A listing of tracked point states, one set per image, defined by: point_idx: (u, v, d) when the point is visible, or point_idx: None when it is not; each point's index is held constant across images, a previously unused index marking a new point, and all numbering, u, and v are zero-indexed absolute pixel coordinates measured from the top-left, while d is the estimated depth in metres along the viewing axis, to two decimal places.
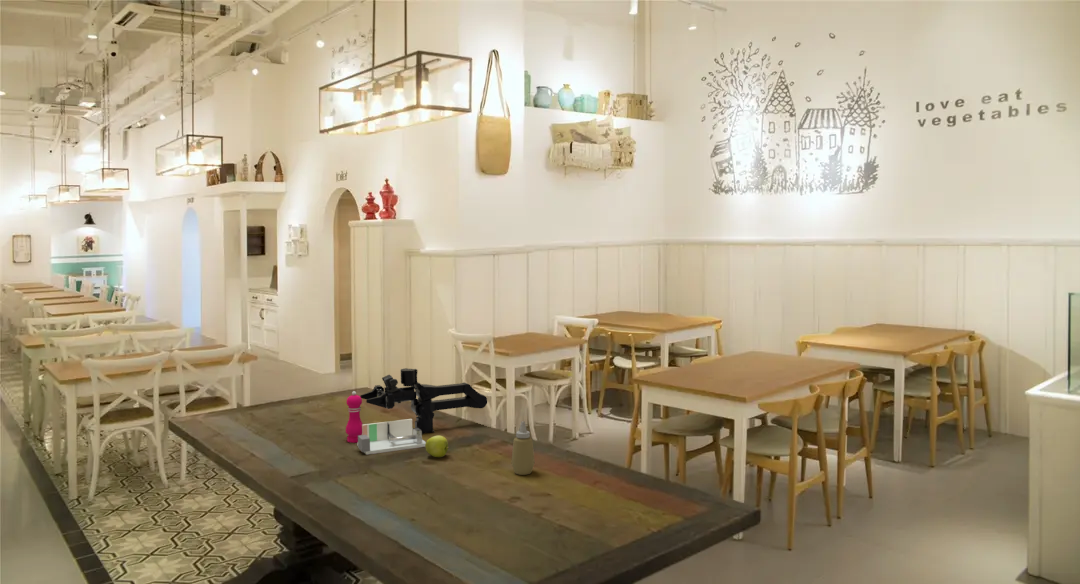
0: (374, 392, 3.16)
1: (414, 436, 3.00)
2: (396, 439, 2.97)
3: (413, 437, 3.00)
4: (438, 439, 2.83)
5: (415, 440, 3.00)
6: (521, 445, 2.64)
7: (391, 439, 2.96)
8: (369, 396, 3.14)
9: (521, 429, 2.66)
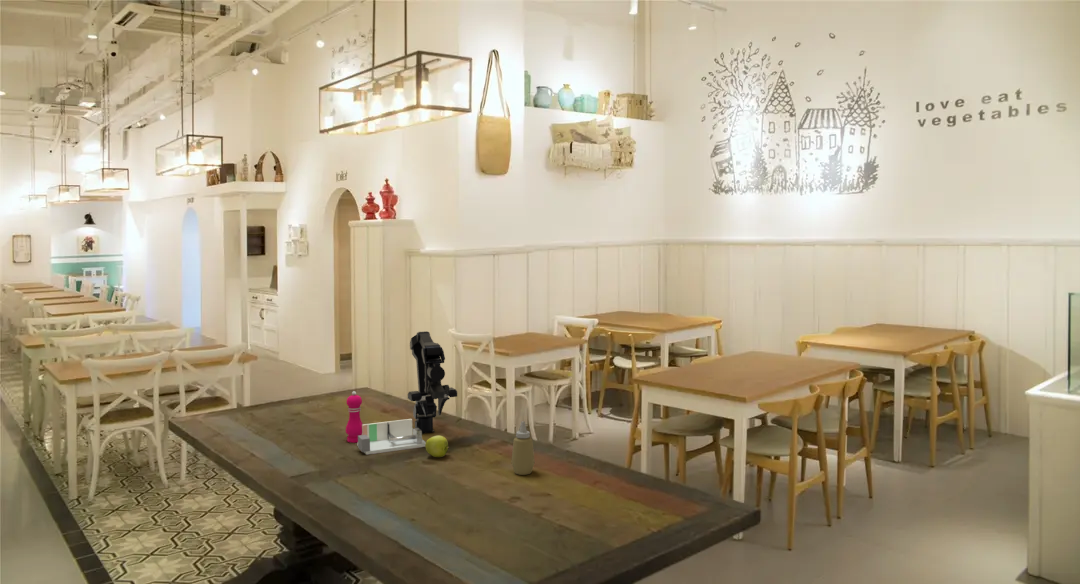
0: None
1: (414, 436, 3.00)
2: (396, 439, 2.97)
3: (413, 437, 3.00)
4: (438, 439, 2.83)
5: (415, 440, 3.00)
6: (521, 445, 2.64)
7: (391, 439, 2.96)
8: None
9: (521, 429, 2.66)
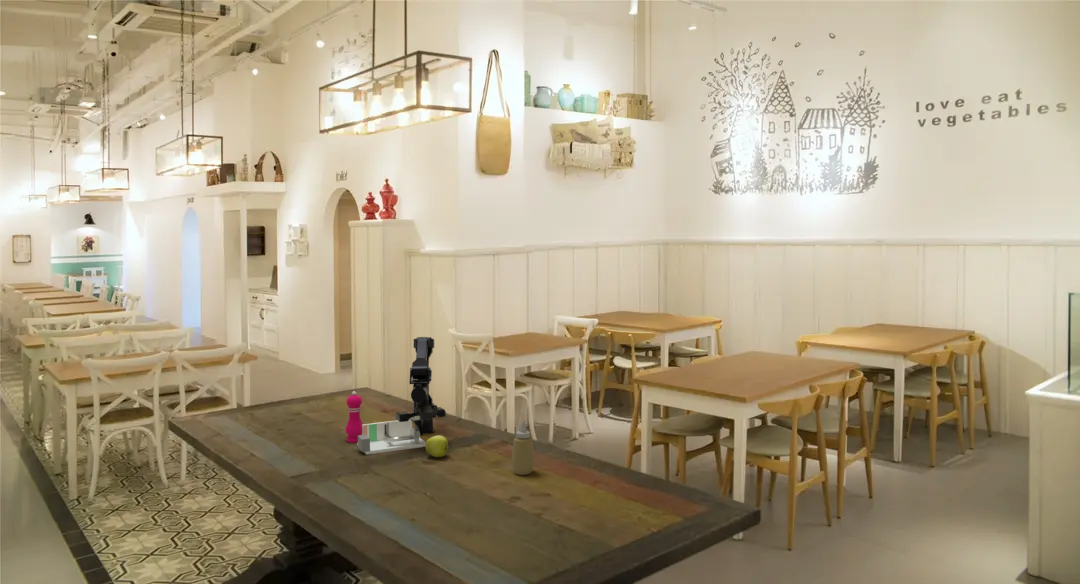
0: None
1: (411, 436, 3.00)
2: (393, 439, 2.96)
3: (410, 437, 2.99)
4: (438, 439, 2.83)
5: (412, 440, 3.00)
6: (521, 445, 2.64)
7: (388, 439, 2.95)
8: None
9: (521, 429, 2.66)
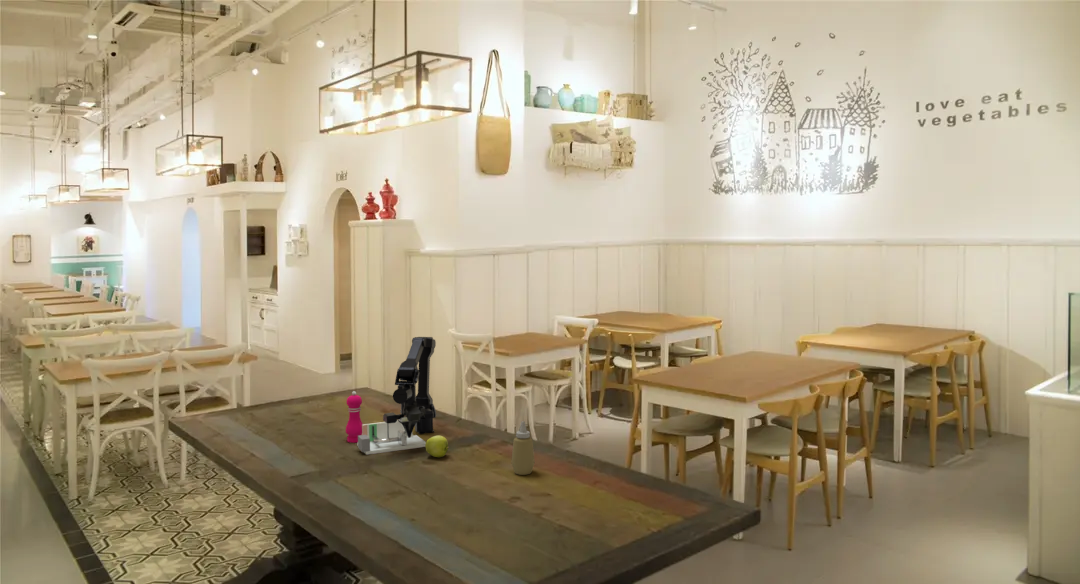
0: None
1: (399, 438, 2.97)
2: (380, 441, 2.94)
3: (398, 439, 2.97)
4: (438, 439, 2.83)
5: (400, 442, 2.98)
6: (521, 445, 2.64)
7: (375, 441, 2.93)
8: None
9: (521, 429, 2.66)
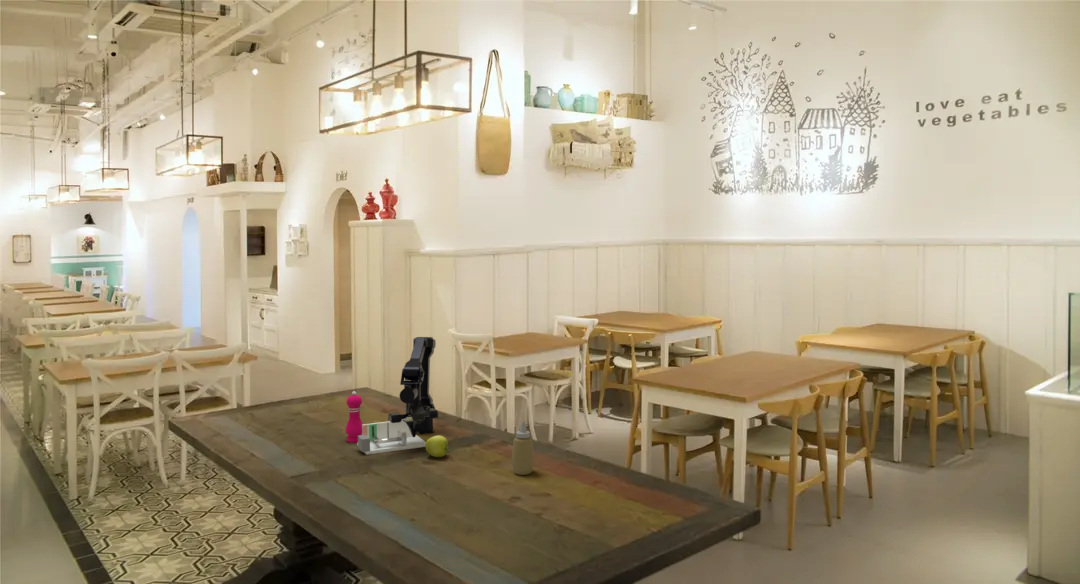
0: None
1: (399, 438, 2.97)
2: (380, 441, 2.94)
3: (398, 439, 2.97)
4: (438, 439, 2.83)
5: (400, 442, 2.98)
6: (521, 445, 2.64)
7: (375, 441, 2.93)
8: None
9: (521, 429, 2.66)
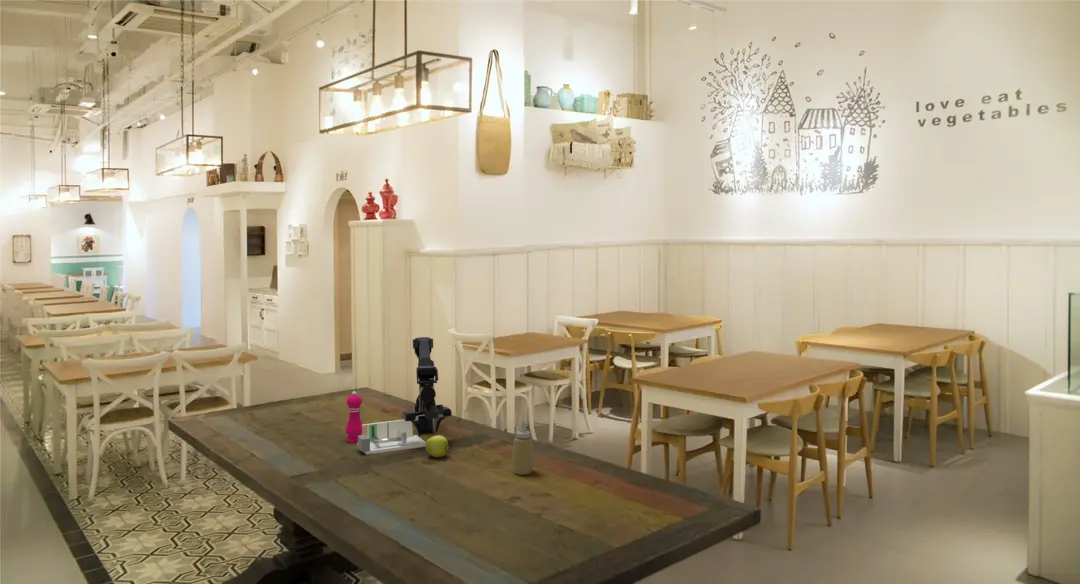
0: None
1: (399, 438, 2.97)
2: (380, 441, 2.94)
3: (398, 439, 2.97)
4: (438, 439, 2.83)
5: (400, 442, 2.98)
6: (521, 445, 2.64)
7: (375, 441, 2.93)
8: None
9: (521, 429, 2.66)
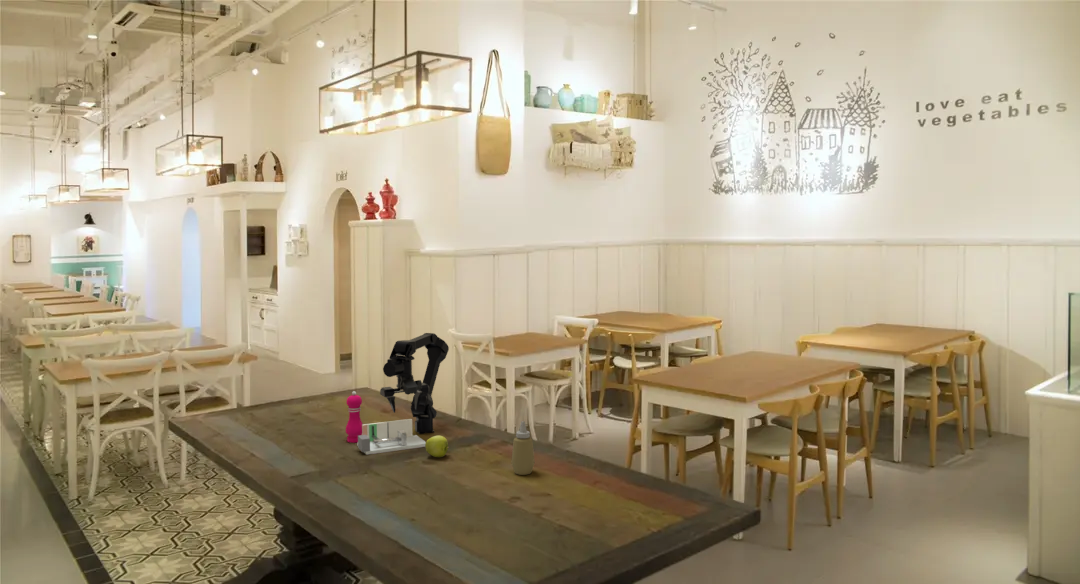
0: None
1: (399, 438, 2.97)
2: (380, 441, 2.94)
3: (398, 439, 2.97)
4: (438, 439, 2.83)
5: (400, 442, 2.98)
6: (521, 445, 2.64)
7: (375, 441, 2.93)
8: None
9: (521, 429, 2.66)
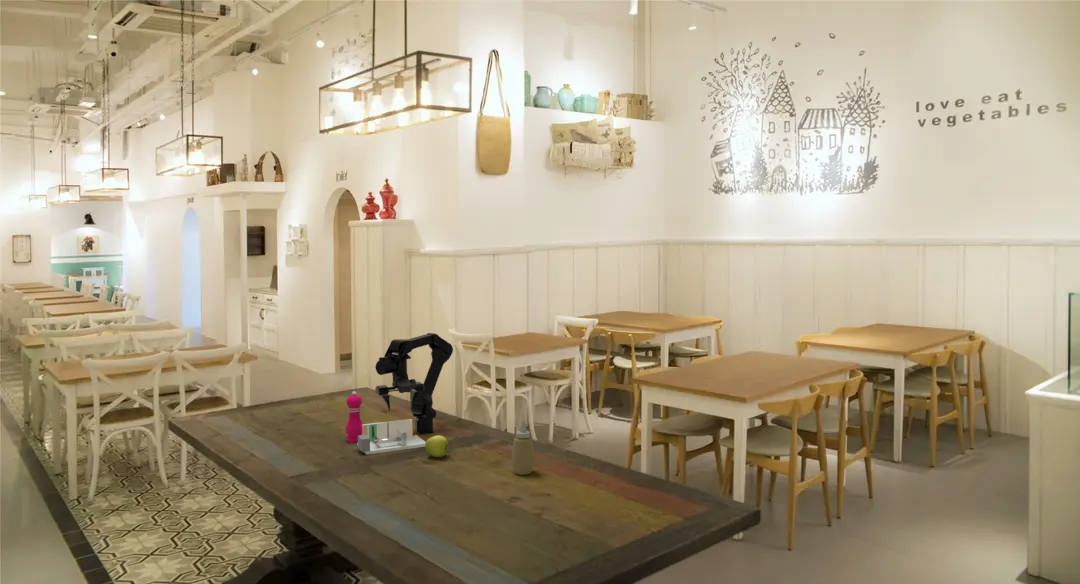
0: None
1: (399, 438, 2.97)
2: (380, 441, 2.94)
3: (398, 439, 2.97)
4: (438, 439, 2.83)
5: (400, 442, 2.98)
6: (521, 445, 2.64)
7: (375, 441, 2.93)
8: None
9: (521, 429, 2.66)
